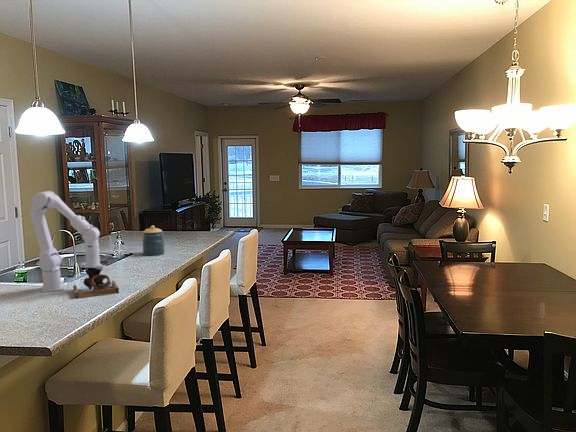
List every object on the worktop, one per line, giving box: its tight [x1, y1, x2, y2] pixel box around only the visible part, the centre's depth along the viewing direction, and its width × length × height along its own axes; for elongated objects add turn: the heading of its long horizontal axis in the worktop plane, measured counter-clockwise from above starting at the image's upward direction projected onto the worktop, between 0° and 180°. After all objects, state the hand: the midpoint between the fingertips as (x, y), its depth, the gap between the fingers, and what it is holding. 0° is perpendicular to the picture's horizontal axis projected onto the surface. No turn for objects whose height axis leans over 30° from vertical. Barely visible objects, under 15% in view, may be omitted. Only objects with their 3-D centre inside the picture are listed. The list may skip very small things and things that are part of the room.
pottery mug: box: [83, 273, 112, 291], centre depth 214 cm, size 12×10×8 cm
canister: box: [141, 225, 166, 257], centre depth 296 cm, size 13×13×18 cm
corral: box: [72, 280, 120, 299], centre depth 214 cm, size 14×17×2 cm
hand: (94, 284), depth 219 cm, fingers closed
